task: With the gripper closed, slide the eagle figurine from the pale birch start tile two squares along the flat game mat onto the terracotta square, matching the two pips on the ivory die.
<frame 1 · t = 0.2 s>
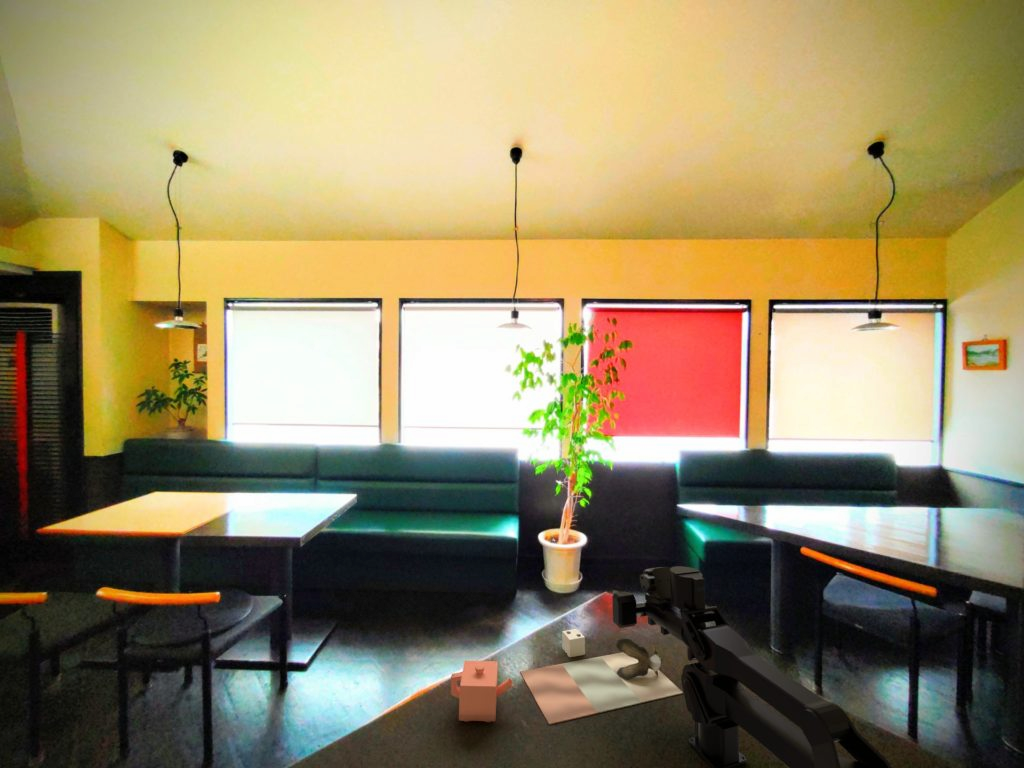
hand: (631, 589, 96), 17 cm above the table, tool horizontal, fingers open, 9 cm apart
die: (573, 651, 99), on the table
game mat: (598, 682, 88), on the table
pink cube teapot: (481, 712, 79), on the table
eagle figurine: (638, 674, 91), resting on game mat
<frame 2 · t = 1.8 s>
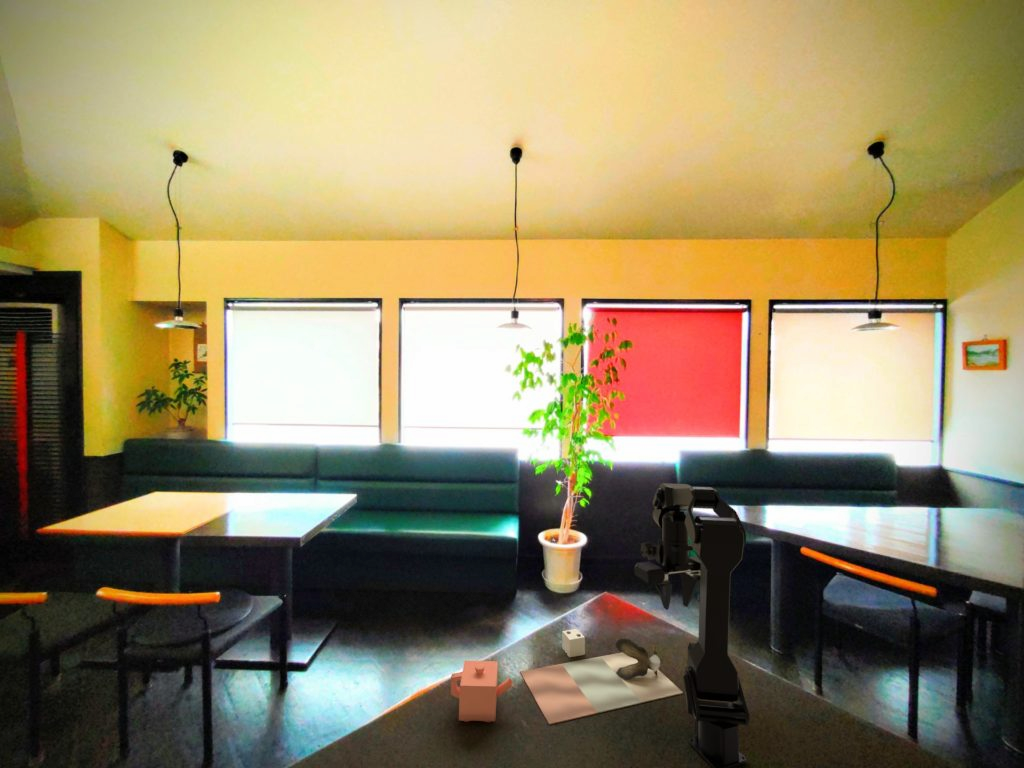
hand: (675, 607, 95), 13 cm above the table, tool pointing down, fingers open, 5 cm apart
nothing on the table moved.
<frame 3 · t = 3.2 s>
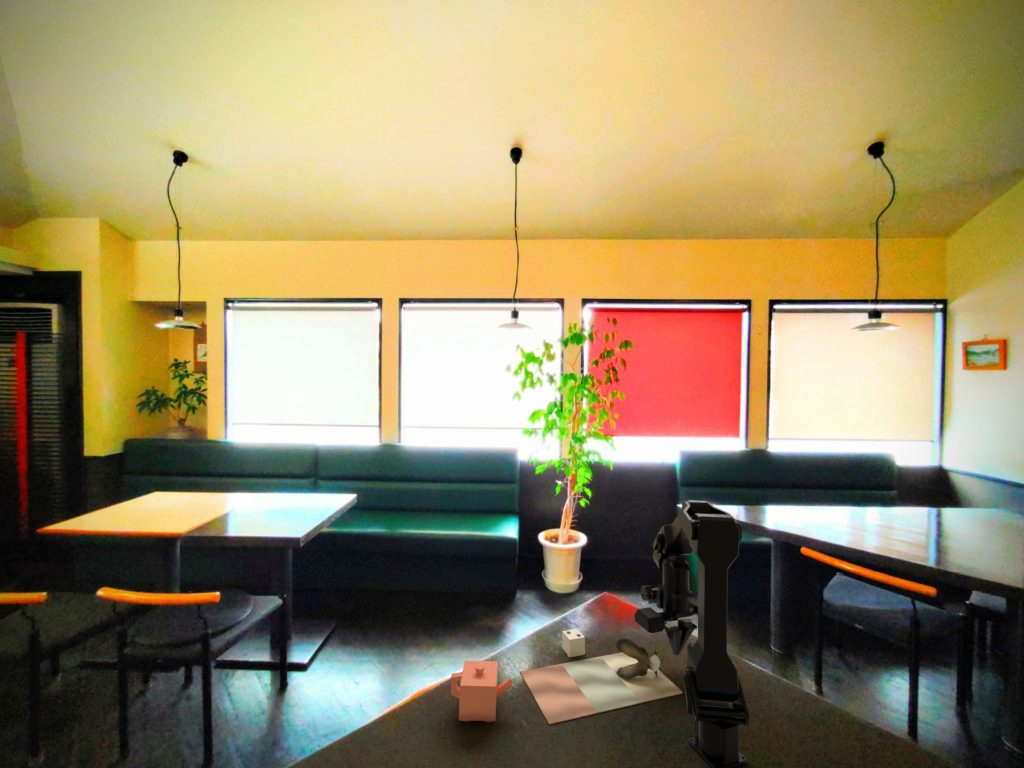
hand: (676, 654, 94), 3 cm above the table, tool pointing down, fingers closed
nothing on the table moved.
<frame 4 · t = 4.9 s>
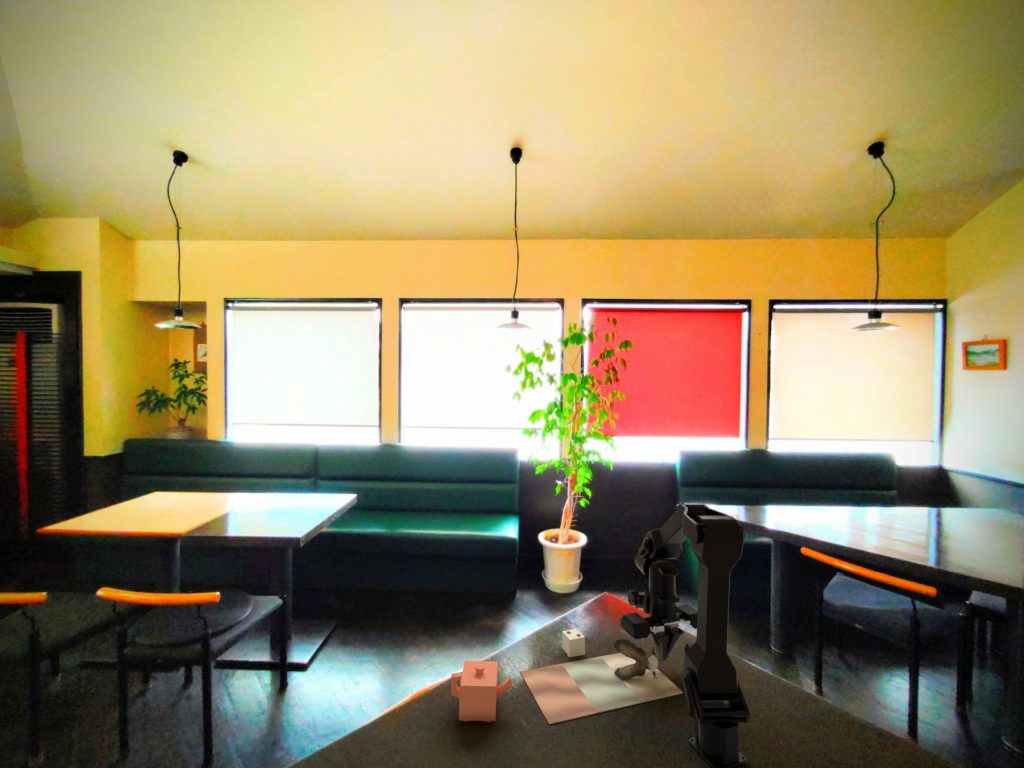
hand: (662, 659, 93), 2 cm above the table, tool pointing down, fingers closed
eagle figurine: (636, 674, 91), resting on game mat, touching gripper
everything else where it was.
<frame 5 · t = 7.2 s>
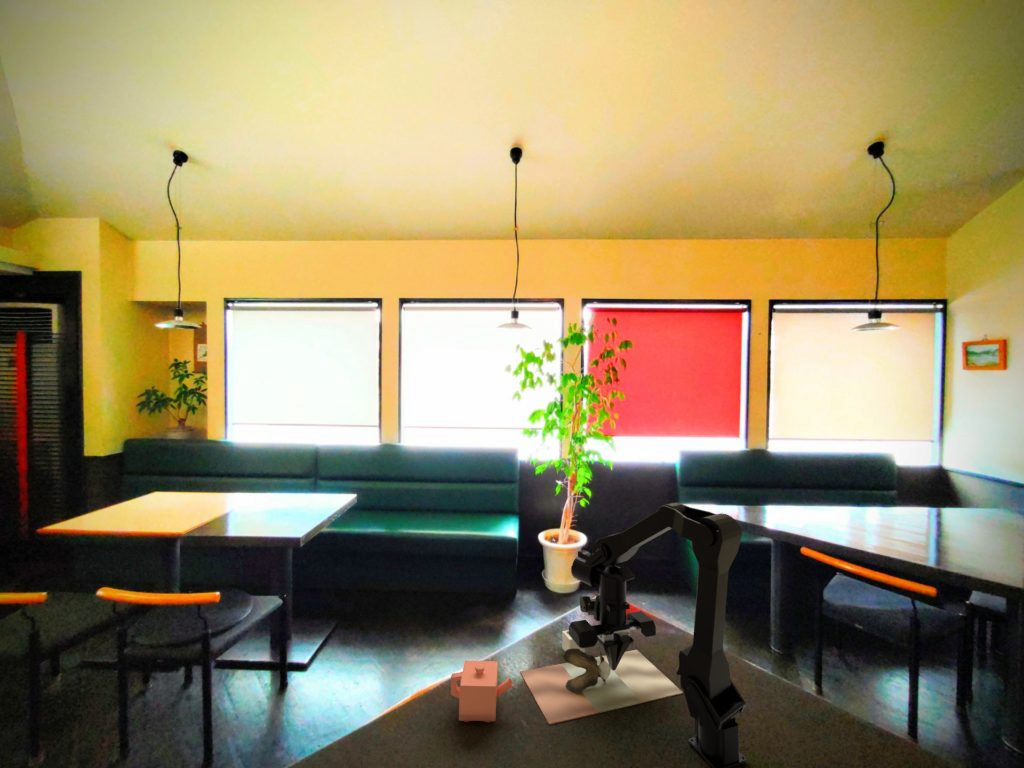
hand: (612, 669, 89), 2 cm above the table, tool pointing down, fingers closed
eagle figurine: (586, 684, 87), resting on game mat, touching gripper
everything else where it was.
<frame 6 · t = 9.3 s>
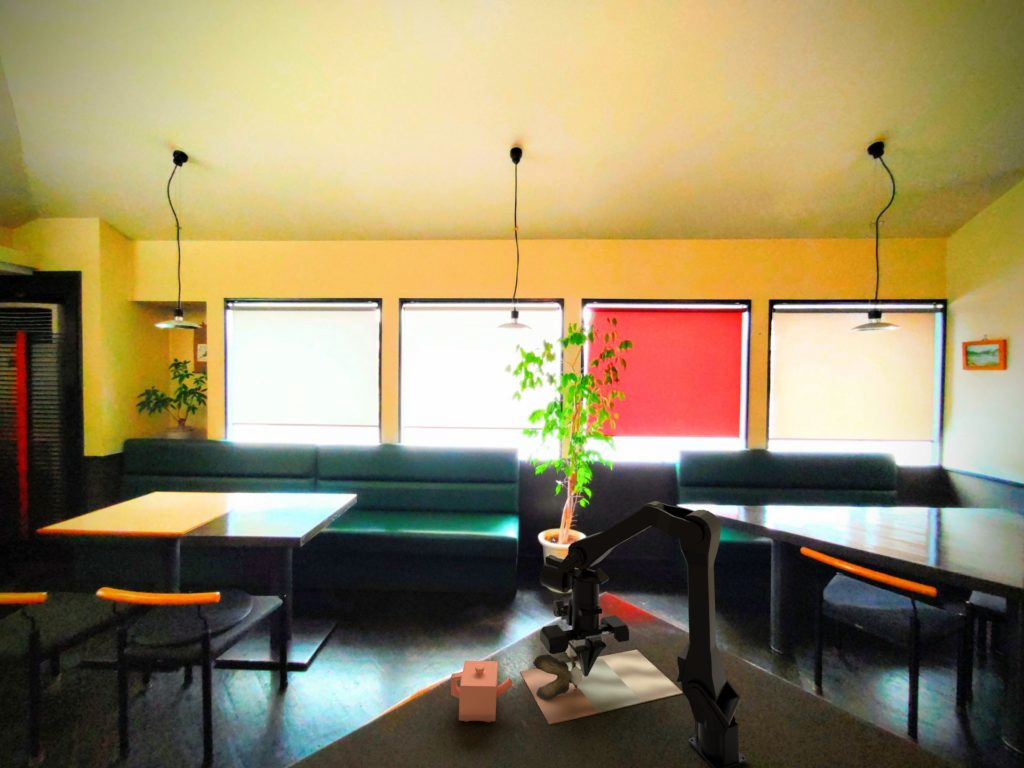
hand: (585, 675, 87), 2 cm above the table, tool pointing down, fingers closed
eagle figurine: (557, 690, 85), resting on game mat, touching gripper
everything else where it was.
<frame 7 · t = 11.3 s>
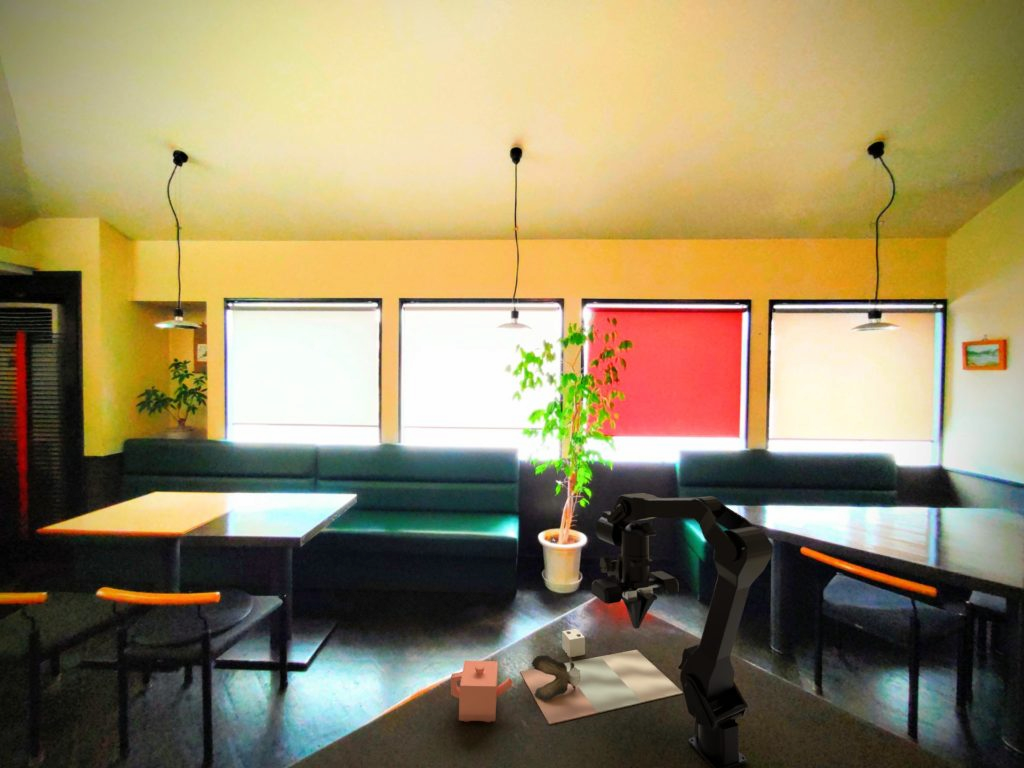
hand: (635, 627, 88), 12 cm above the table, tool pointing down, fingers closed
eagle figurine: (556, 691, 85), resting on game mat
everything else where it was.
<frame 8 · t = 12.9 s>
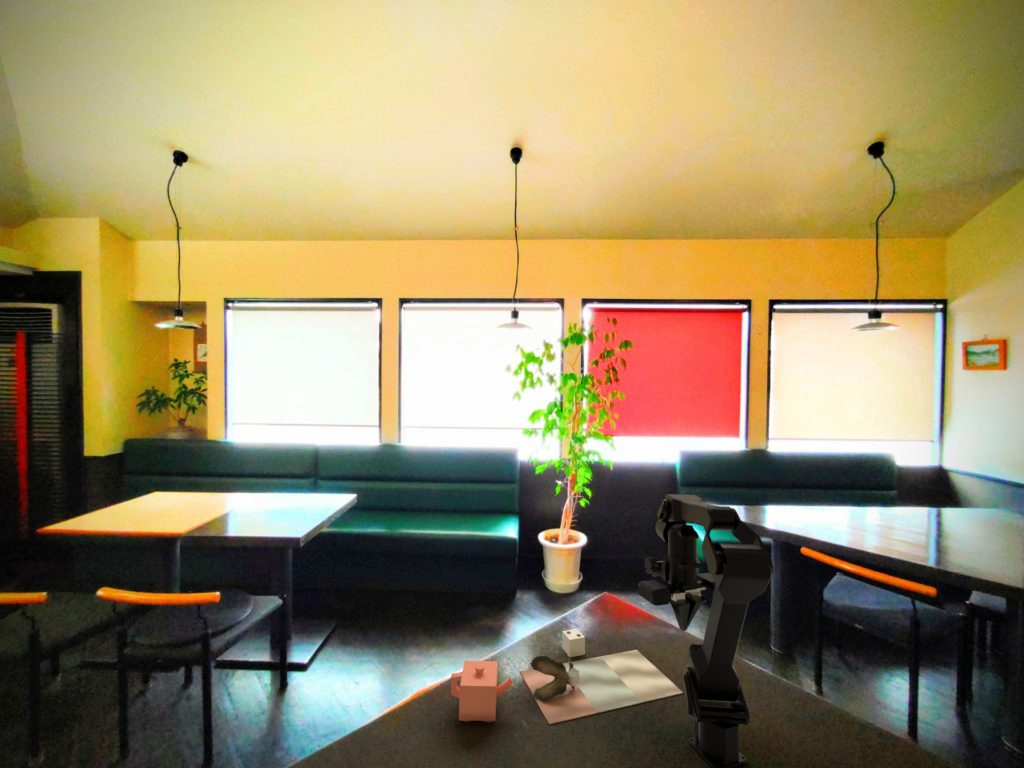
hand: (683, 629, 87), 12 cm above the table, tool pointing down, fingers closed
nothing on the table moved.
at the end: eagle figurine inside the target area (0.1 cm from its centre), resting on game mat; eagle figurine tilted 0°; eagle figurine moved 20.3 cm from its start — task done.
